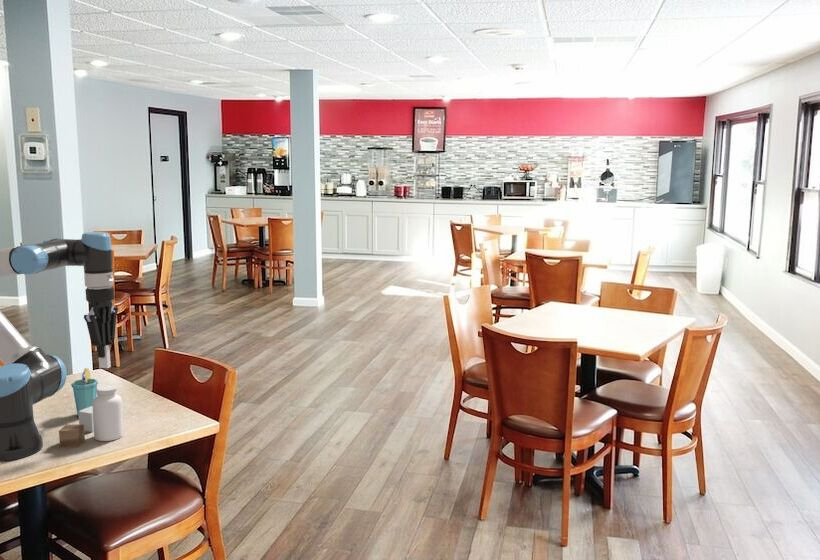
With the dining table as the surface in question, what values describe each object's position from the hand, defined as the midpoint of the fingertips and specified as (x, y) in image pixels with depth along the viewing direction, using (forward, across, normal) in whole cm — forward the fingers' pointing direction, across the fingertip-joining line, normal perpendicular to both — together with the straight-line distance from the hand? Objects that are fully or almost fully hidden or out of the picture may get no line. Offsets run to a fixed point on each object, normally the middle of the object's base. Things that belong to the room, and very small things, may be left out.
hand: (105, 367), depth 211 cm
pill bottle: (+21, 0, 0) cm, 21 cm away
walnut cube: (+21, -7, +7) cm, 23 cm away
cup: (+21, +15, +18) cm, 32 cm away
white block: (+21, +5, +9) cm, 24 cm away
